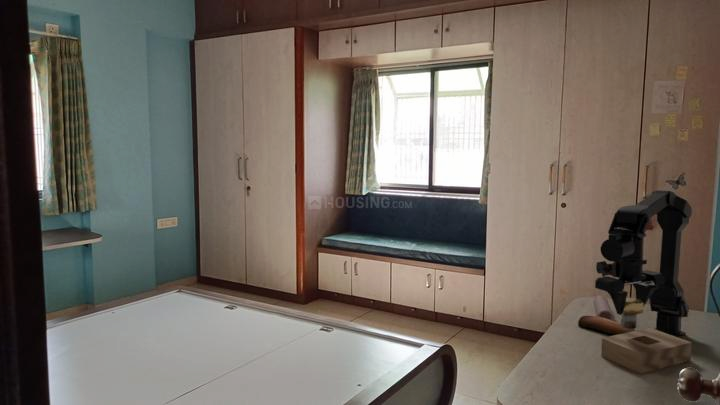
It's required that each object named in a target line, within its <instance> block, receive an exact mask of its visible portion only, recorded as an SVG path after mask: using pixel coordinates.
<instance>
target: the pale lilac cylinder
mask: <svg viewBox="0 0 720 405" xmlns="http://www.w3.org/2000/svg"><path fill="white" fill-rule="evenodd" d="M592 304H593V307H594V309H595V314H596V316H598V317H602V318H606V319H609V320H612V321H615V315H614V313H613V311H612V308H611V306H610V303H609V301H608V299H607V297H606V296H604V295H596V296H595V297H594V298H593V300H592Z"/></svg>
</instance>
